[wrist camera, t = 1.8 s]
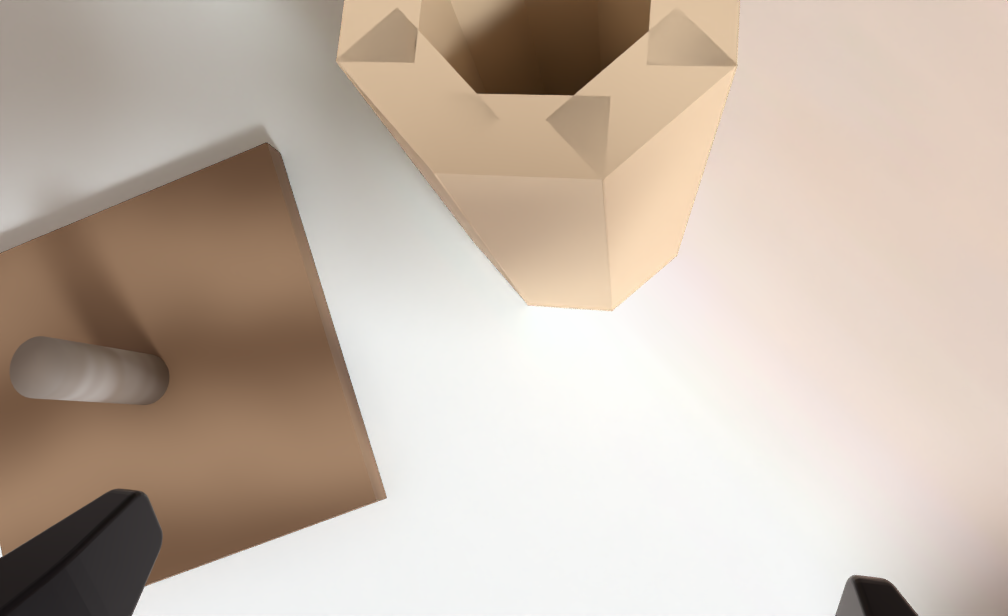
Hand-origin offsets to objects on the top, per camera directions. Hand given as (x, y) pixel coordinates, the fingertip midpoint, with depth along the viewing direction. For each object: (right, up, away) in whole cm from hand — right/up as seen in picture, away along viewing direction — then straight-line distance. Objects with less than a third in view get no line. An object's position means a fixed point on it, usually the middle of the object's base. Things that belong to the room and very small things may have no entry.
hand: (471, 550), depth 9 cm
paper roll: (+3, +6, +14) cm, 15 cm away
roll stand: (-11, +1, +15) cm, 19 cm away
